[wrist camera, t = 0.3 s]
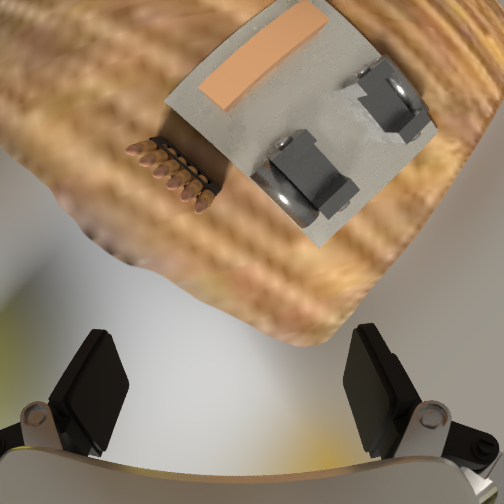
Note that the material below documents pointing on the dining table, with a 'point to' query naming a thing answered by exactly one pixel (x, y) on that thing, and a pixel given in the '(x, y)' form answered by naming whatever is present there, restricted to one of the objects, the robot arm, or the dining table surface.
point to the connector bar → (263, 54)
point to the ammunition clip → (176, 171)
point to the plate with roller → (314, 122)
